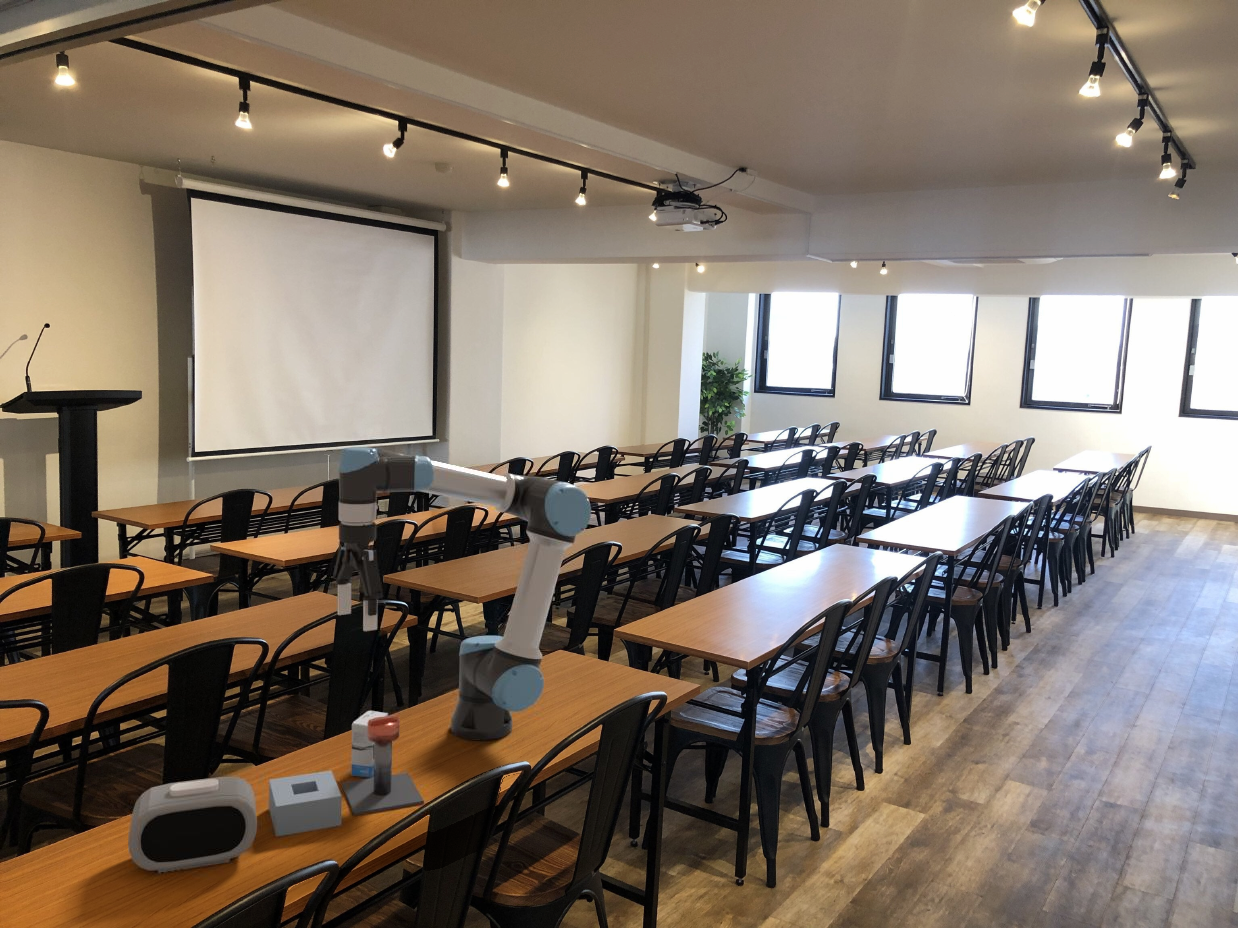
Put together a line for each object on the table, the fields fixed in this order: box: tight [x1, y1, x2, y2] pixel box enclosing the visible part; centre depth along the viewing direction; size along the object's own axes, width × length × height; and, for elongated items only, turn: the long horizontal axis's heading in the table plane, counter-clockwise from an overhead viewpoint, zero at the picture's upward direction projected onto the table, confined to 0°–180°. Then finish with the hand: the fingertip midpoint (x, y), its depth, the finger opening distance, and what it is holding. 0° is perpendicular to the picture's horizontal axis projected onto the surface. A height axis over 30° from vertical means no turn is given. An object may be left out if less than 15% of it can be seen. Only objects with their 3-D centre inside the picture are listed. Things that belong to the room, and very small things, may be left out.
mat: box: [341, 772, 425, 816], centre depth 194 cm, size 14×14×1 cm
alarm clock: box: [127, 776, 258, 874], centre depth 167 cm, size 21×10×13 cm, turn 114°
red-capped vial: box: [367, 713, 400, 796], centre depth 193 cm, size 6×6×16 cm
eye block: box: [268, 770, 343, 838], centre depth 183 cm, size 12×12×6 cm
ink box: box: [350, 710, 389, 779], centre depth 205 cm, size 8×5×12 cm, turn 168°
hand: (356, 621), depth 195 cm, fingers open, 13 cm apart
